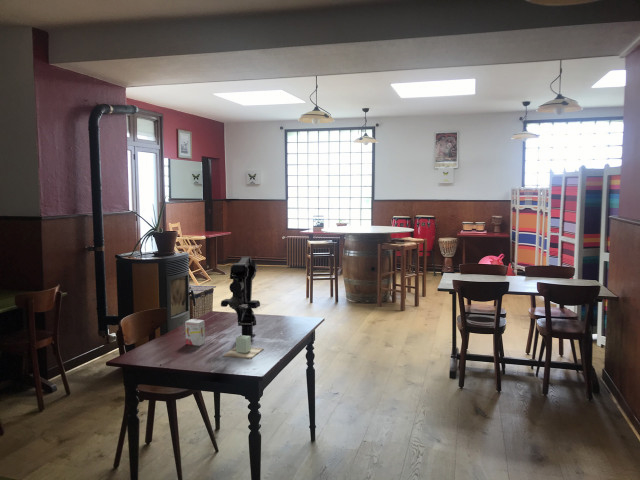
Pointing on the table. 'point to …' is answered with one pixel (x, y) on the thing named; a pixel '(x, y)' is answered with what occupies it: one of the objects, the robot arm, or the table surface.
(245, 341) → the mint green box
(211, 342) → the table surface
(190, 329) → the ink box
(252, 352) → the post board
